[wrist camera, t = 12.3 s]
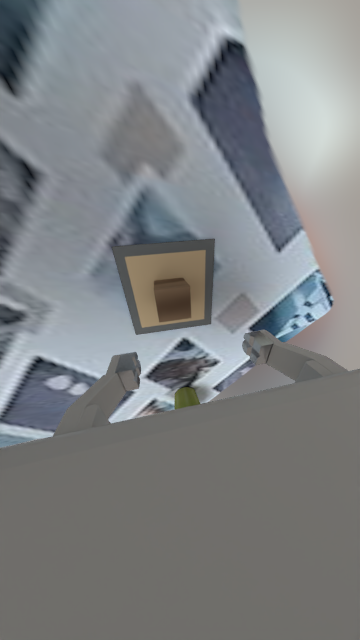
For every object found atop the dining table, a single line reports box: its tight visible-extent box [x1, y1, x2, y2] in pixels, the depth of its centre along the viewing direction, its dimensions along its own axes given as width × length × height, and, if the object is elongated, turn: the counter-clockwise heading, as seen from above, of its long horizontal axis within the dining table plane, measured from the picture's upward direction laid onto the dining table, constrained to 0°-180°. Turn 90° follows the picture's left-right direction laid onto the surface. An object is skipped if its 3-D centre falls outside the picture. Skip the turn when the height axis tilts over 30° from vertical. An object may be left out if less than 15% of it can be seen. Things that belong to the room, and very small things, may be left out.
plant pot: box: [175, 387, 200, 409], centre depth 37 cm, size 9×9×9 cm
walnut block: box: [154, 278, 191, 323], centre depth 22 cm, size 5×5×6 cm
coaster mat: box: [112, 239, 215, 335], centre depth 25 cm, size 16×16×1 cm
